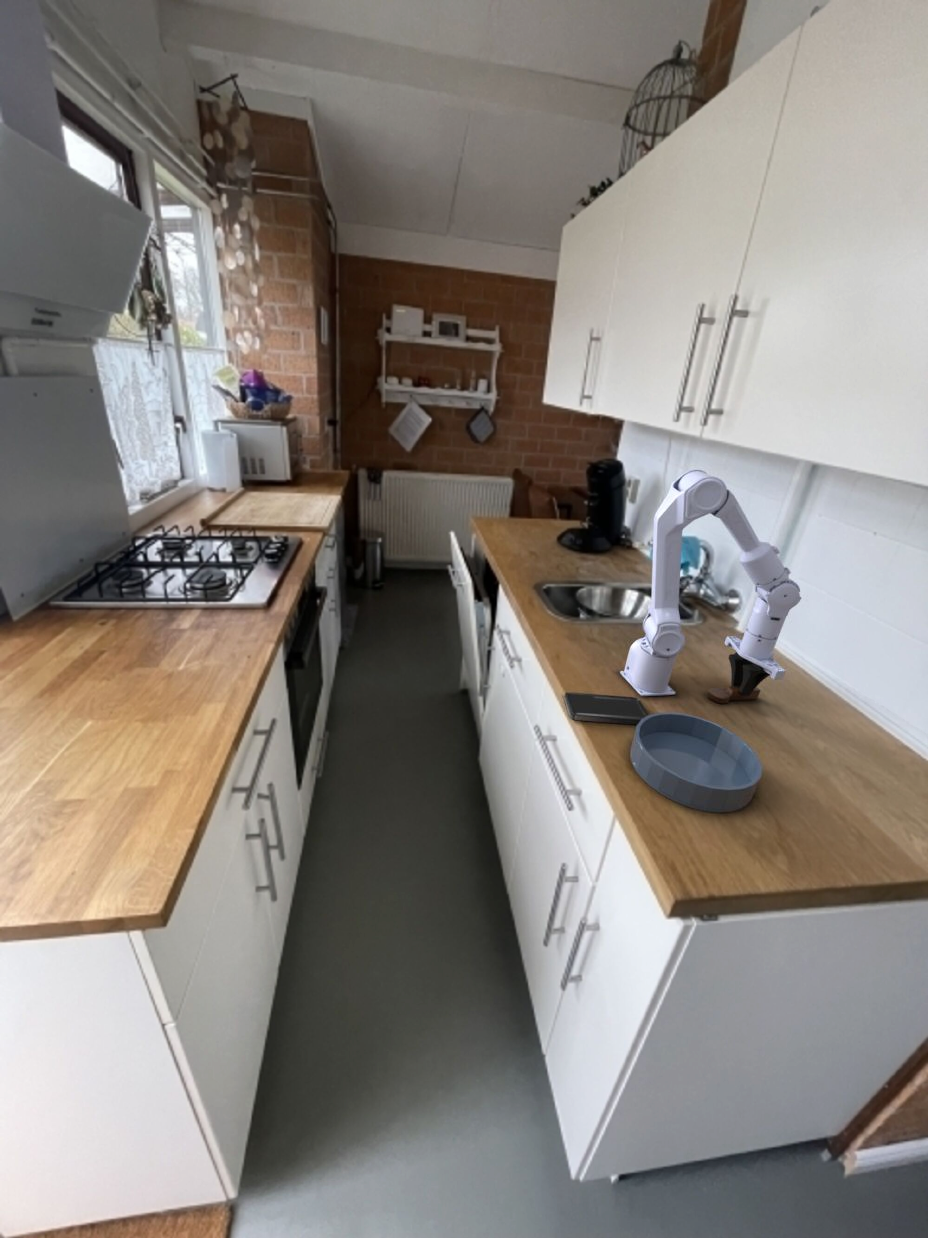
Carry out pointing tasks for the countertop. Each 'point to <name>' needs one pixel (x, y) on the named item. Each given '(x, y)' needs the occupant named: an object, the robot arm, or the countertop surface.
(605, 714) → the phone
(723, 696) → the brown elongated piece
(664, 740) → the shallow round tray
